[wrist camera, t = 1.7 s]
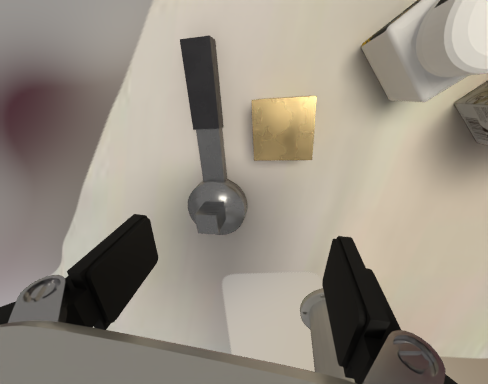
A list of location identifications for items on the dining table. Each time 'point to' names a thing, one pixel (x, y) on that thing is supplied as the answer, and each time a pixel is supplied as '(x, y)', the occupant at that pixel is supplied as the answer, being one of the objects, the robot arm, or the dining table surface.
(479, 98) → the coffee box
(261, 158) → the brass-coloured cube
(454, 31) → the medicine bottle
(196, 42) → the ratchet
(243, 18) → the dining table surface
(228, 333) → the dining table surface
